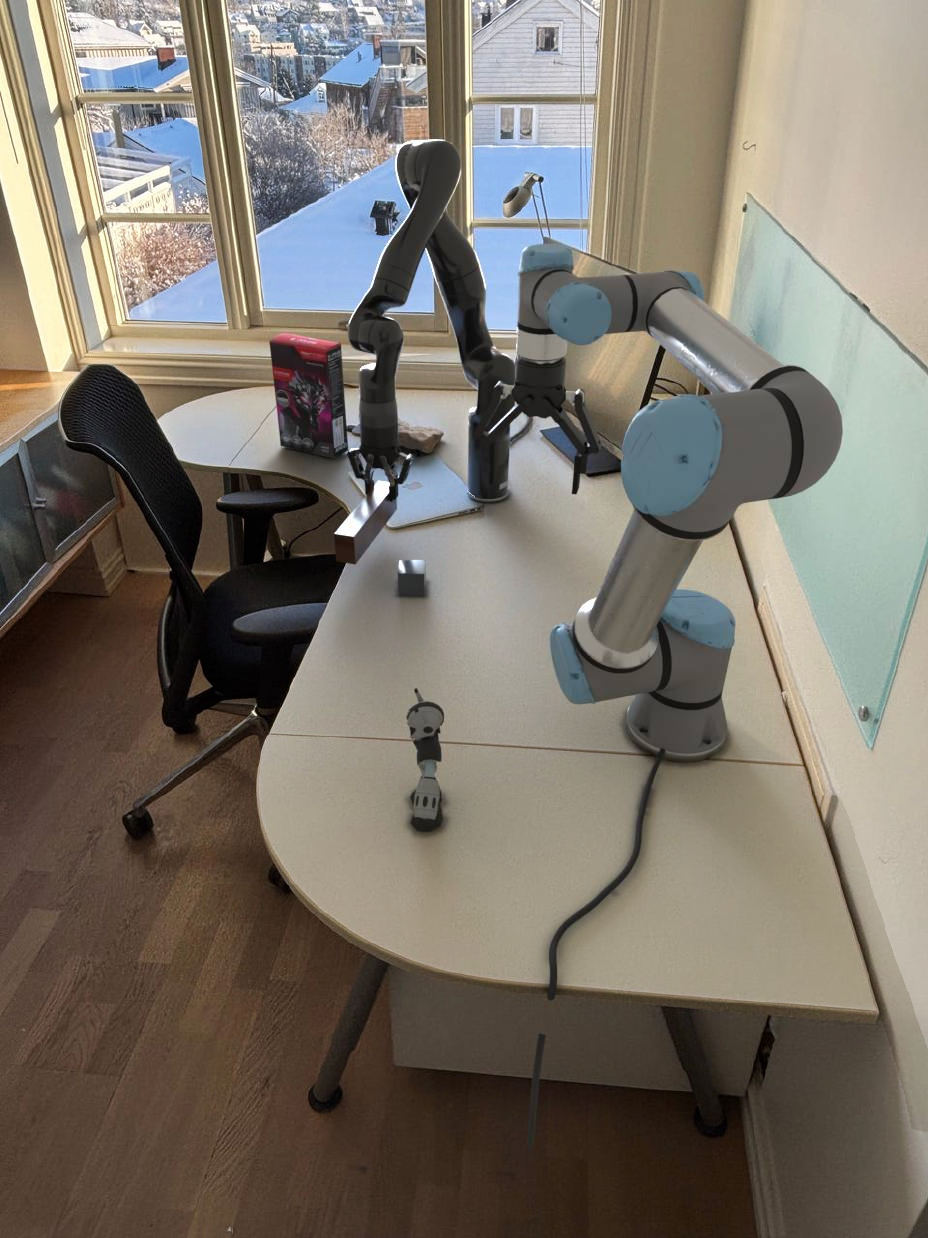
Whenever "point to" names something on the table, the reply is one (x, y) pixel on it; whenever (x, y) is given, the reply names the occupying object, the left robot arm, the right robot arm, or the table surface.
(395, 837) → the table surface
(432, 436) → the stone
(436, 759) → the robot
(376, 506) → the walnut bar
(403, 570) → the slate cube
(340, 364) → the graphics card box
